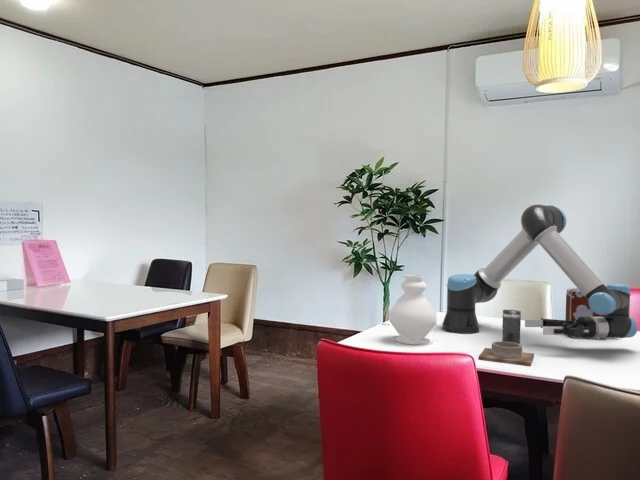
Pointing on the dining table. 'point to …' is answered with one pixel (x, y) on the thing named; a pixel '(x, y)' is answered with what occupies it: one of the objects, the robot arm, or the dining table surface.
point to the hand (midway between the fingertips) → (534, 326)
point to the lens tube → (511, 326)
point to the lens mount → (507, 353)
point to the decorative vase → (413, 312)
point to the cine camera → (578, 307)
